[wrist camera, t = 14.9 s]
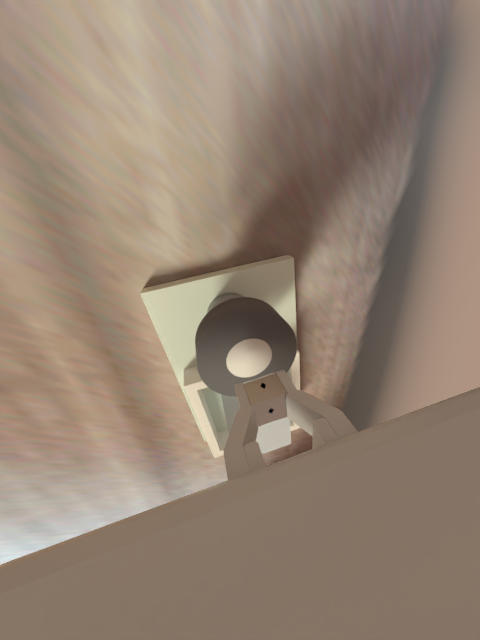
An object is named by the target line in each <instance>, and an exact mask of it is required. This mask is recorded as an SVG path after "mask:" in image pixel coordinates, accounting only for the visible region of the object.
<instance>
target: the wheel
mask: <svg viewBox="0 0 480 640" xmlns="http://www.w3.org/2000/svg"><path fill="white" fill-rule="evenodd" d="M195 347H196V359H197V369H198V373H199V375H200V377H201V379H202V381H203V382H204V383H205V384H206V385H207V387H209V388H210V389H211V390H213V391H215V392H217V393H219V394H222V395H226V396H232V397H237V396H236V392H235V388H234V385H236V384H239V383H243V382H246V381H249V380H253V379H256V378H259V377H262V376H265V375H268V374H271V373H275V372H278V371H281V370H284V371H285V372H286V373H287V372H288V371H289V369H290V368H291V366H292V364H293V362H294V359H295V356H296V352H297V340H296V336H295V333H294V331H293V329H292V328H291V326H290V325H289V324H288V323H287V322H286V321H285V320H284V319H283V318H282V317H281V316H280V315H279V313H278V312H277V311H276V310H275V309H274V308H273V307H272V306H270V305H269V304H268V303H266V302H264V301H262V300H259V299H256V298H251V297H239V298H234V299H230V300H227V301H225V302H222V303H220V304H219V305H217V306H215V307H214V308H213V309H211V310H210V311H209V312H208V313H207V314H206V315H205V317H204V318H203V319H202V321H201V322H200V324H199V326H198V329H197V332H196V336H195Z"/></svg>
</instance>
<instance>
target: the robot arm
mask: <svg viewBox="0 0 480 640" xmlns="http://www.w3.org/2000/svg"><path fill="white" fill-rule="evenodd" d="M234 388H235V392H236V396H237V400H238V404H239V408H240V409H239V410H238V411H237V414H236V417H235V420H234V423H233V425H232V428H231V431H230V434H229V437H228V439H227V442H226V445H225V448H224V451H223V452H224V458H225V464H226V470H227V477H228V481H225V482H223V483H220V484H217V485H215V486H212V487H209V488H206V489H204V490H201V491H198V492H196V493H193V494H190V495H188V496H185V497H182V498H180V499H177V500H174V501H171V502H169V503H166V504H163V505H161V506H158V507H155V508H153V509H150V510H147V511H144V512H142V513H139V514H136V515H134V516H131V517H128V518H126V519H123V520H120V521H117V522H115V523H112V524H109V525H107V526H104V527H101V528H99V529H96V530H93V531H90V532H88V533H85V534H82V535H80V536H77V537H74V538H72V539H69V540H66V541H63V542H61V543H58V544H55V545H53V546H50V547H47V548H45V549H42V550H39V551H36V552H34V553H31V554H28V555H25V556H23V557H20V558H17V559H14V560H12V561H9V562H7V563H4V564H2V565H0V640H480V387H478V388H475V389H473V390H470V391H467V392H465V393H462V394H459V395H457V396H454V397H451V398H449V399H446V400H443V401H440V402H438V403H435V404H432V405H430V406H427V407H424V408H422V409H419V410H416V411H414V412H411V413H409V414H406V415H403V416H400V417H397V418H395V419H392V420H389V421H387V422H385V423H381V424H379V425H376V426H373V427H371V428H368V429H365V430H363V431H360V432H358V431H357V430H356V428H355V427H354V426H353V425H352V423H351V422H350V421H349V420H348V418H347V417H346V416H345V414H344V413H343V412H342V411H341V410H340V409H338V408H336V407H334V406H332V405H330V404H328V403H326V402H324V401H322V400H320V399H318V398H316V397H314V396H312V395H310V394H308V393H306V392H304V391H302V390H297V389H296V387H295V386H294V384H293V383H292V381H291V379H290V378H289V376H288V375H287V373H286V372H285V371H284V370H281V371H278V372H275V373H271V374H268V375H265V376H262V377H259V378H256V379H253V380H249V381H246V382H243V383H239V384H236V385H234ZM285 417H287V418H288V419H290V420H291V421H292V422H294V423H295V424H296V425H298V426H299V427H300V428H302V429H303V430H304V431H306V432H307V433H308V434H310V435H311V436H312V449H311V450H309V451H306V452H303V453H301V454H298V455H295V456H292V457H290V458H287V459H284V460H282V461H279V462H276V463H274V464H271V465H268V466H266V465H265V462H264V459H263V456H262V453H261V450H260V447H259V444H258V442H256V438H257V433H258V427H259V426H262V425H265V424H267V423H270V422H273V421H276V420H279V419H282V418H285Z"/></svg>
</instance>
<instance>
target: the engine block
mask: <svg viewBox="0 0 480 640" xmlns="http://www.w3.org/2000/svg"><path fill="white" fill-rule="evenodd" d="M221 398H222V403H223V408H224V413H225V418H226V422H227V427H228V432H229V434H230V431H231V428H232V425H233V423H234V420H235V417H236V414H237V411H238V410H239V409H240V408H239V404H238V400H237V397H232V396H226V395H222V394H221ZM256 442H258V444H259V447H260V450H261V453H262V454H264V453H267V452H270V451H273V450H275V449H278V448H281V447H284V446H286V445H289V444H291V433H290V419H288V418H287V417H285V418H282V419H279V420H276V421H273V422H270V423H267V424H265V425H262V426H259V427H258V433H257V438H256Z"/></svg>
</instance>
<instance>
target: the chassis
mask: <svg viewBox="0 0 480 640" xmlns="http://www.w3.org/2000/svg"><path fill="white" fill-rule="evenodd" d="M140 295H141V297H142V299H143V301H144V304H145V306H146V308H147V311H148V313H149V315H150V317H151V320H152V322H153V324H154V327H155V329H156V331H157V333H158V336H159V338H160V340H161V343H162V345H163V347H164V349H165V352H166V354H167V356H168V359H169V361H170V363H171V365H172V368H173V370H174V372H175V375H176V377H177V379H178V381H179V384H180V386H181V388H182V391H183V393H184V395H185V397H186V400H187V402H188V404H189V407H190V409H191V411H192V413H193V416H194V418H195V420H196V423H197V425H198V427H199V429H200V432H201V434H202V436H203V439H204V441H205V442H206V441H207V442H208V444H209V447H210V449H211V451H212V454H213V456H214V458H216V457H219V456H222V455H224V452H223V451H224V448H225V445H226V442H227V439H228V437H229V432H228V427H227V422H226V418H225V413H224V408H223V403H222V398H221V394H219V393H217V392H215V391H213V390H211V389H210V388H209V387H207V385H206V384H205V383H204V382H203V381H202V379H201V377H200V375H199V373H198V369H197V359H196V347H195V336H196V332H197V329H198V326H199V324H200V322H201V321H202V319H203V318H204V317H205V315H206V314H207V313H208V312H209V311H210V310H211V309H213V308H214V307H215V306H217V305H219V304H220V303H222V302H225V301H227V300H230V299H234V298H239V297H251V298H256V299H259V300H262V301H264V302H266V303H268V304H269V305H270V306H272V307H273V308H274V309H275V310H276V311H277V312H278V313H279V315H280V316H281V317H282V318H283V319H284V320H285V321H286V322H287V323H288V324H289V325H290V326H291V328H292V329H293V331H294V333H295V336H296V340H297V330H296V300H295V271H294V257H291V256H289V255H284V256H280V257H275V258H271V259H267V260H262V261H258V262H254V263H250V264H245V265H241V266H237V267H232V268H228V269H224V270H219V271H215V272H211V273H206V274H202V275H198V276H193V277H189V278H185V279H180V280H176V281H172V282H168V283H163V284H159V285H155V286H150V287H146V288H143V289H142V291H141V293H140ZM287 375H288V376H289V378H290V379H291V381H292V383H293V384H294V386H295V387H296V389H297V390H300V359H299V351H298V350H297V352H296V356H295V359H294V362H293V364H292V366H291V368H290V369H289V371H288V372H287ZM299 428H300V427H299V426H298V425H296V424H295V423H294V422H292V421H291V420H290V431H293V430H296V429H299Z"/></svg>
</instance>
